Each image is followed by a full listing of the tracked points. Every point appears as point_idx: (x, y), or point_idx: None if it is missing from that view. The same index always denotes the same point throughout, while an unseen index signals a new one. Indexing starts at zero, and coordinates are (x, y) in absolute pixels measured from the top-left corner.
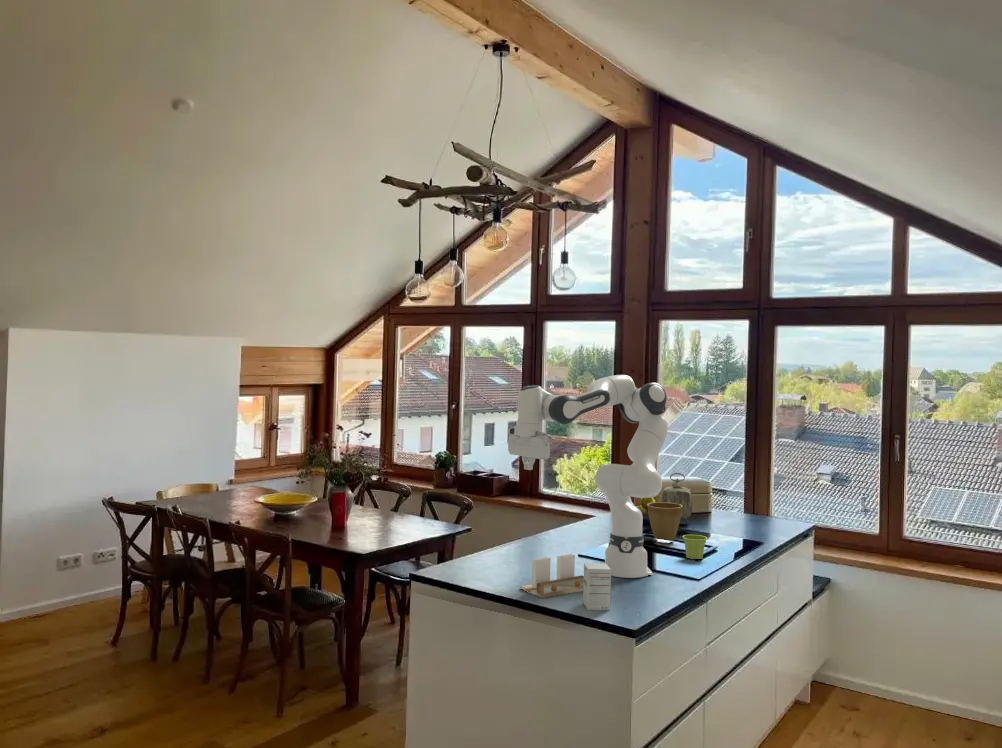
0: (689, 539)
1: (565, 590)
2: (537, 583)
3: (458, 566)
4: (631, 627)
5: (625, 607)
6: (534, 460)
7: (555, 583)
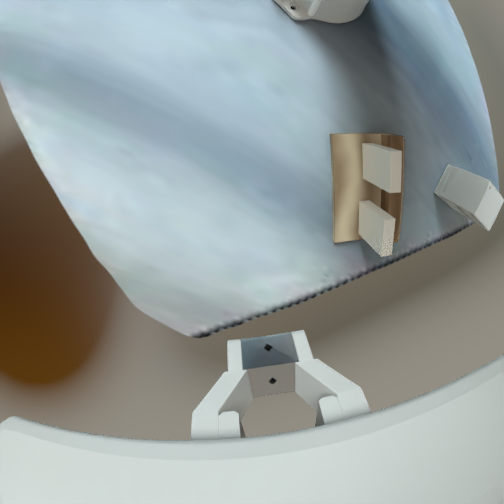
0: None
1: None
2: None
3: (136, 269)
4: None
5: (467, 153)
6: (358, 393)
7: (401, 215)
